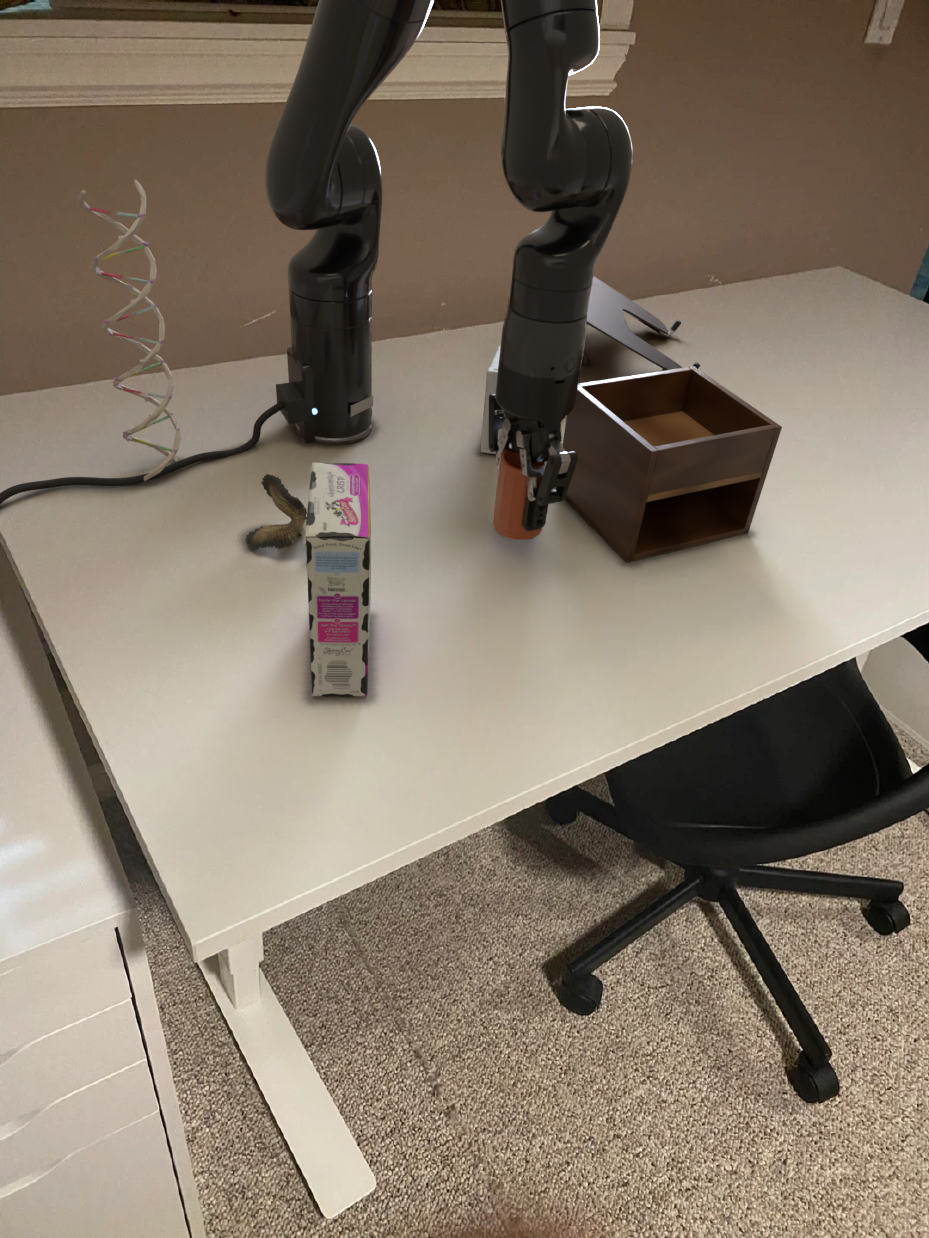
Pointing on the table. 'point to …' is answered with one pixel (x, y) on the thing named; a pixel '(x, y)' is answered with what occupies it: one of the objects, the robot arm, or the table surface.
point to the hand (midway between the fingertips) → (519, 512)
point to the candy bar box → (339, 578)
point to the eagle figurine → (280, 533)
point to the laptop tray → (612, 323)
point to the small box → (490, 389)
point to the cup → (512, 498)
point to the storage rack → (666, 460)
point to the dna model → (134, 303)
